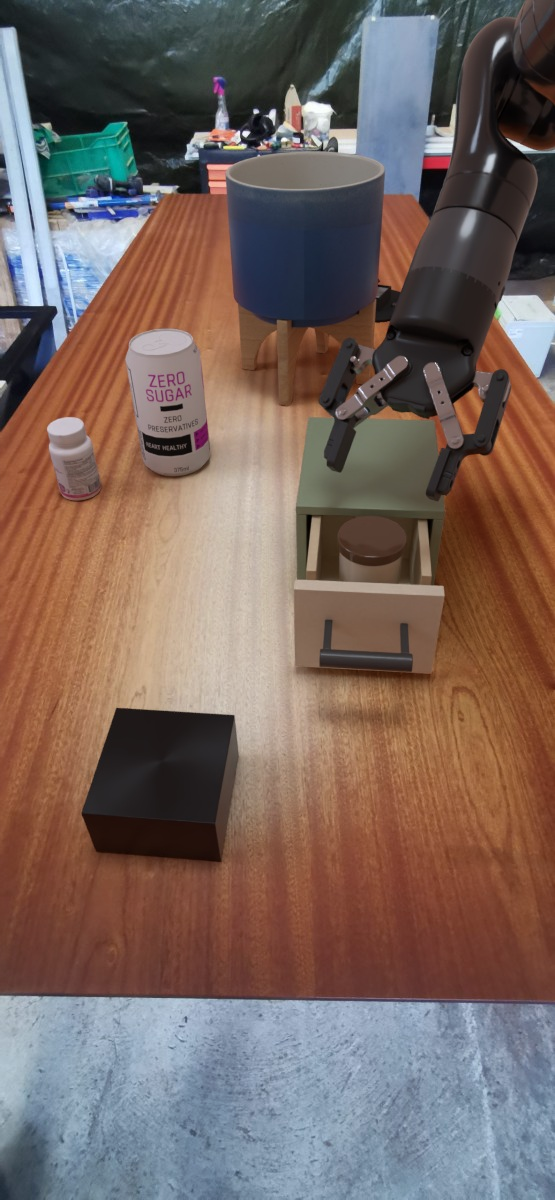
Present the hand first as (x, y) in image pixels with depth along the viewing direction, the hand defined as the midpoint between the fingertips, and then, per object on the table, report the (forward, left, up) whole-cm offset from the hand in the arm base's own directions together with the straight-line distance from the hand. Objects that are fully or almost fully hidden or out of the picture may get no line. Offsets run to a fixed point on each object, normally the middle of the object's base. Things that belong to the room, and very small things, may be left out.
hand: (381, 483), depth 58 cm
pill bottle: (+34, -20, -15) cm, 42 cm away
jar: (+1, +1, -13) cm, 13 cm away
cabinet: (+1, -11, -15) cm, 18 cm away
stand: (+15, +20, -15) cm, 29 cm away
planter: (+10, -51, -15) cm, 54 cm away
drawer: (+1, +2, -14) cm, 14 cm away
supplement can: (+24, -27, -15) cm, 39 cm away
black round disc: (+1, -78, -15) cm, 79 cm away
